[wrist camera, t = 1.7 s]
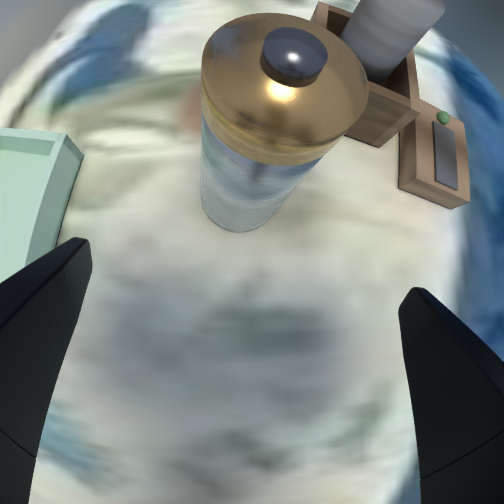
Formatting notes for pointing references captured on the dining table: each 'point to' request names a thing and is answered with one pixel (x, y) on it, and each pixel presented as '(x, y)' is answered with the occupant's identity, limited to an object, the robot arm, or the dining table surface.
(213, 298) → the dining table surface
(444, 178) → the wooden switch box
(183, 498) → the dining table surface
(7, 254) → the trough
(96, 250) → the dining table surface
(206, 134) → the cell
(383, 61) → the bin
